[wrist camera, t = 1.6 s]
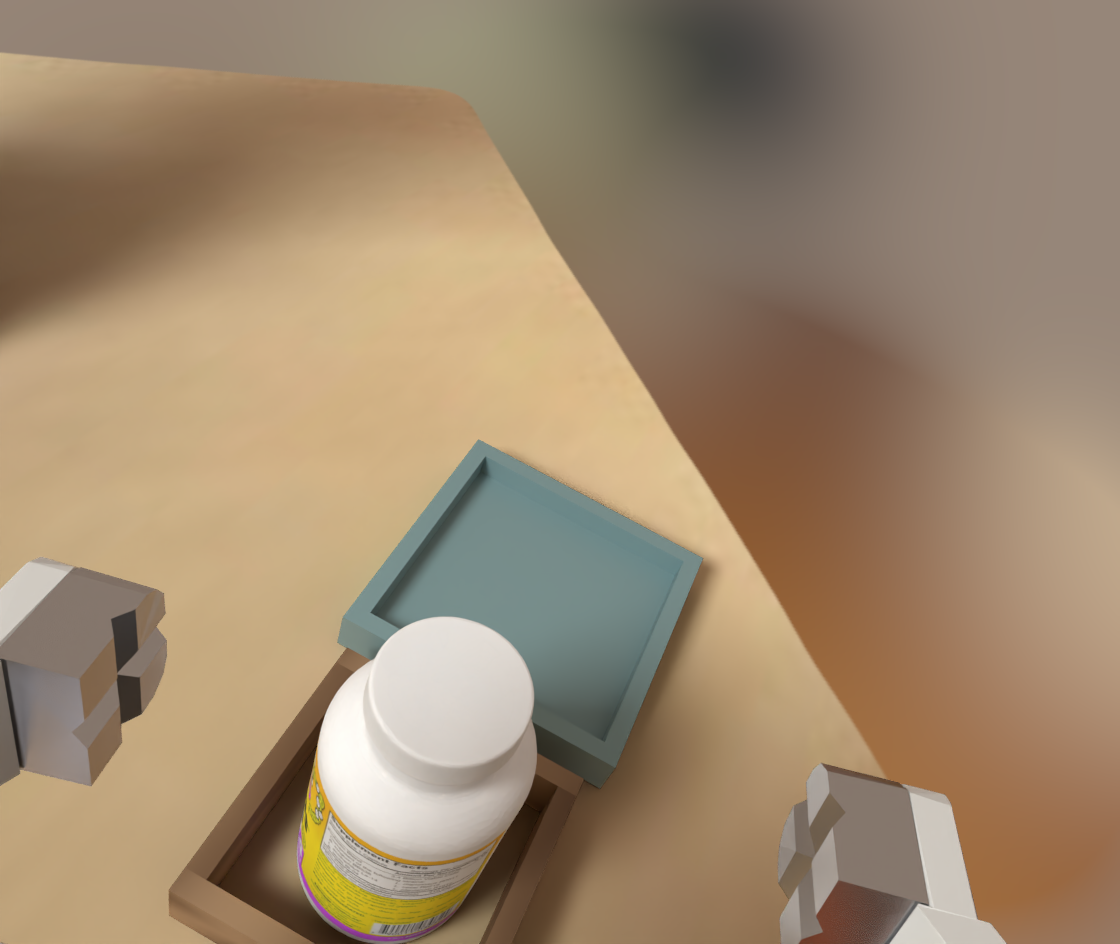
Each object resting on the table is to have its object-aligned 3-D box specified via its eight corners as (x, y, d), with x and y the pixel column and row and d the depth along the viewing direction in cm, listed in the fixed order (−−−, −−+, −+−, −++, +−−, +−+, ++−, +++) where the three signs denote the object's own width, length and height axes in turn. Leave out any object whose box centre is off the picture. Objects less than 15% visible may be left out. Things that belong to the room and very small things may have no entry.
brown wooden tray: (169, 915, 33) (168, 889, 31) (339, 678, 40) (347, 647, 38) (444, 1078, 32) (459, 1061, 30) (565, 805, 39) (584, 779, 37)
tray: (337, 642, 41) (343, 616, 40) (470, 465, 50) (478, 439, 49) (599, 788, 40) (615, 767, 39) (687, 581, 49) (703, 558, 48)
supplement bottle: (366, 738, 39) (423, 547, 30) (505, 832, 38) (608, 665, 29) (253, 881, 34) (280, 706, 25) (408, 992, 33) (495, 853, 24)
